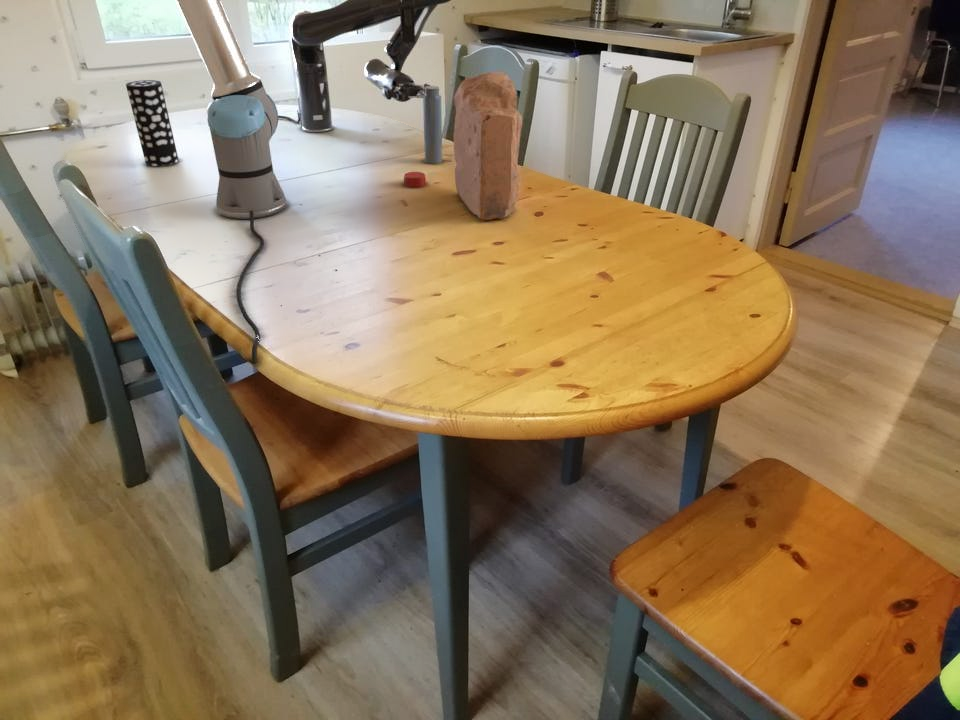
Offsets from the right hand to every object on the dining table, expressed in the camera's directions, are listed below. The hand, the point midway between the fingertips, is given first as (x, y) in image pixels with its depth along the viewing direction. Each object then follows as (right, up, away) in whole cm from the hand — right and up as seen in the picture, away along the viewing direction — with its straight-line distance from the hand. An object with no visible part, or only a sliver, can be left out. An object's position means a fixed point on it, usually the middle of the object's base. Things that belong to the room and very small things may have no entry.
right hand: (417, 96), depth 190 cm
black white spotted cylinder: (-69, -10, -9) cm, 70 cm away
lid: (+1, -27, -18) cm, 32 cm away
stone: (+19, -36, -28) cm, 50 cm away
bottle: (+5, -18, 0) cm, 18 cm away
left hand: (+1, 0, -35) cm, 35 cm away
